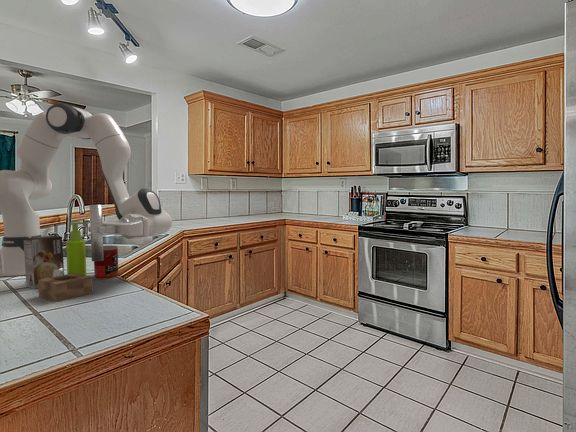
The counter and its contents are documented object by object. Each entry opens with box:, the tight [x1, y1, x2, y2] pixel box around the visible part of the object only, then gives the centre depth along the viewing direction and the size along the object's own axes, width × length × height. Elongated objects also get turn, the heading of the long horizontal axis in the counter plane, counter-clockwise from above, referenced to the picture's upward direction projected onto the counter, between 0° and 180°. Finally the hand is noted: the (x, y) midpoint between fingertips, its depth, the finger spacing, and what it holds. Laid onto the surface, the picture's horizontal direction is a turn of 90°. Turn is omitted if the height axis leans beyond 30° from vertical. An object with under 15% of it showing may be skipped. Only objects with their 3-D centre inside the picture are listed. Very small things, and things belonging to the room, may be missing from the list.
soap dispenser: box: [65, 221, 88, 276], centre depth 126 cm, size 6×7×20 cm
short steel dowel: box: [52, 267, 65, 277], centre depth 113 cm, size 3×3×6 cm
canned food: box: [93, 245, 119, 280], centre depth 126 cm, size 8×8×11 cm
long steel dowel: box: [89, 204, 104, 262], centre depth 111 cm, size 3×3×18 cm
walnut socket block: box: [38, 273, 93, 302], centre depth 103 cm, size 10×10×5 cm
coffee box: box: [23, 235, 65, 290], centre depth 114 cm, size 9×6×16 cm
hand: (93, 229), depth 110 cm, fingers closed on long steel dowel, 3 cm apart
